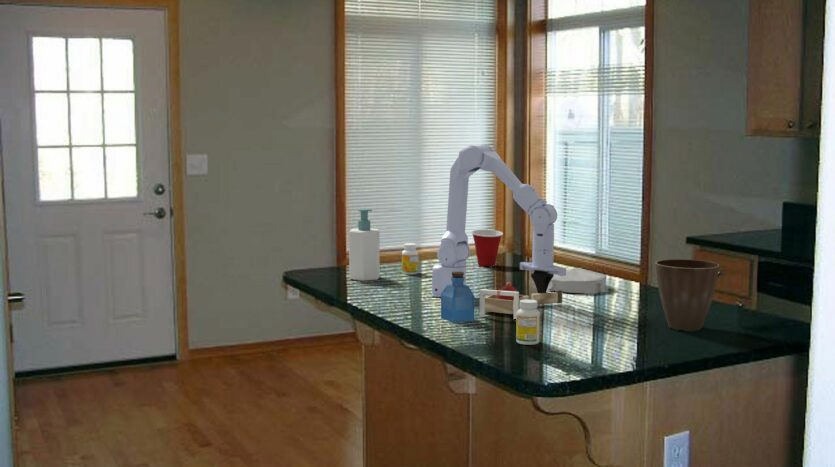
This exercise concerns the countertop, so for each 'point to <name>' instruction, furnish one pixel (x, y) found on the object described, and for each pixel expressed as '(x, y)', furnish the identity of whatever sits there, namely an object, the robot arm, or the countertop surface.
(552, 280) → the food container
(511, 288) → the onion
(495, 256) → the plastic cup
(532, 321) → the supplement bottle
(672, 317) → the plant pot
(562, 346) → the countertop surface
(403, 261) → the supplement bottle
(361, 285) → the countertop surface
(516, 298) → the white goalpost frame
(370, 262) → the soap bottle
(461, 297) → the perfume bottle
